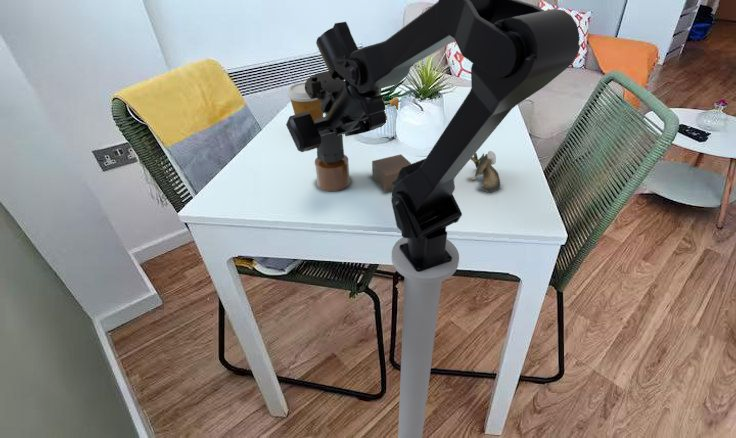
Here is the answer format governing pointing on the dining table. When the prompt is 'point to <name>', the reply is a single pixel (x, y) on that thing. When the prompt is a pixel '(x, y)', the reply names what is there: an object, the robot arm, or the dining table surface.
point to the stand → (388, 170)
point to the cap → (330, 146)
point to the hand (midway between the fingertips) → (326, 140)
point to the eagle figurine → (486, 171)
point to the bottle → (332, 174)
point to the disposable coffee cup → (304, 101)
